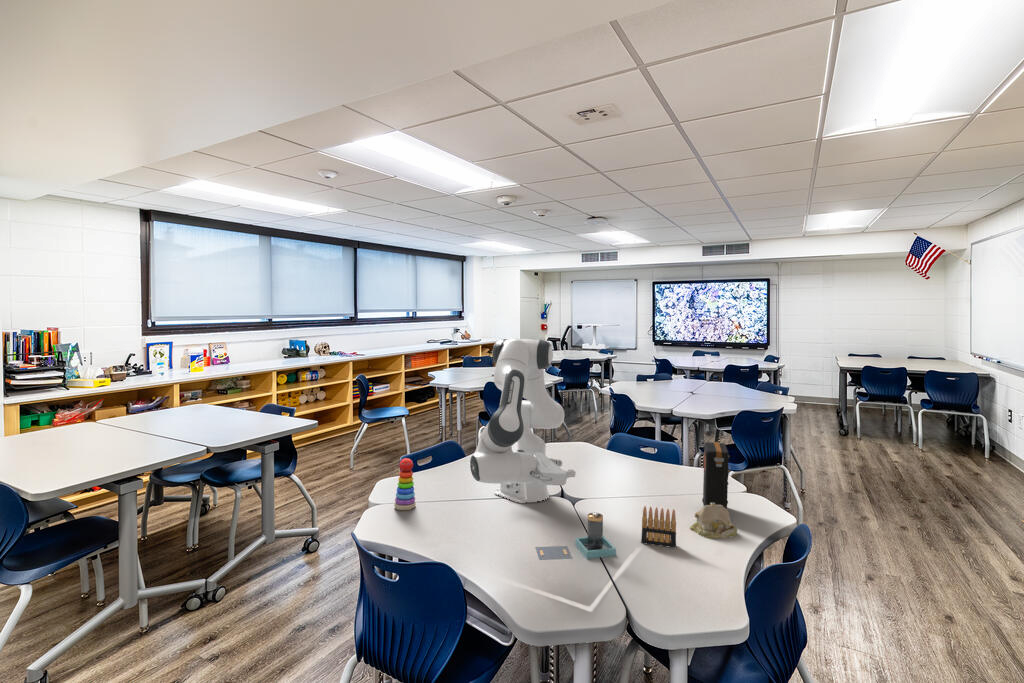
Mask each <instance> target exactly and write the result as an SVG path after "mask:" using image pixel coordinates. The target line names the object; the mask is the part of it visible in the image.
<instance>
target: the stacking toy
mask: <svg viewBox="0 0 1024 683" xmlns="http://www.w3.org/2000/svg"><path fill="white" fill-rule="evenodd" d="M413 467H414V462H413V460H412V459H410V458H407V457H405V458H402V459H401V461H400V462H399V469H400V471H399V473H398V476H399V477H398V480H397V481H398V482H397V488H396V493H395V498H394V502H395V503H394V505H393V506H394V508H395V509H396V510H398V511H410V510H413V509H414V508H415V507H416V505H417V504H416V497H415V495H416V493H415V491H414V490H415V487H414V486H415V482H414V481H413V480H414V476H413V475H414V473H413V471H412V469H413ZM412 508H413V509H412Z"/></svg>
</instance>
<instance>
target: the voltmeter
mask: <svg viewBox="0 0 1024 683" xmlns="http://www.w3.org/2000/svg"><path fill="white" fill-rule="evenodd" d="M703 450H704V451H703V452H704V454H703V486H702V487H703V489H702V493H703V494H702V500H701V502H702V504H703V506H705V505H710V503H713V502H714V503H715V505H722V506H723V507H724V508H726V509H727V510H728V504H729V500H728V488H729V484H730V483H729V459H730V454H729V450H728V448H727V445H726V443H724V442H722V443H720V441H719V442H718V441H713V442H708V441H707V442H705V443H704V445H703Z"/></svg>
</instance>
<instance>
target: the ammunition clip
mask: <svg viewBox="0 0 1024 683" xmlns="http://www.w3.org/2000/svg"><path fill="white" fill-rule="evenodd" d="M647 511H648V512H647ZM670 516H671V518H670ZM676 516H677V515H676V511H675V509H674V508H673V509H672V511H671V513H670V510H669V508H666V512H665V510H664V508H663V507H661V508H660V512H659V509H658V507H657V506H656V507H655V509H654V513H653V507H652V506H650V507H649V510H647V507H646V505H644V507H643V509H642V518H641V540H640V541H641V542H640V543H641V544H644V543H647V544H646V545H651V544H654V545H653V546H659V545H662V546H661V547H666V546H669V547H668V548H673V547H676V548H677V519H676Z"/></svg>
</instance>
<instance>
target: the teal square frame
mask: <svg viewBox="0 0 1024 683" xmlns="http://www.w3.org/2000/svg"><path fill="white" fill-rule="evenodd" d="M574 543H575V544H574V545H575V547H577V550H579V551H580V553H582V555H583V556H584V557H585V558H586V560H587V559H596V558H597V559H598V558H604V557H613V556H614V557H615V556H616V555H617V548H616V547H615V546H614V545H613V544H612V543H611V542H610V541H609V540H608V539H607V538H606V537H605V535H603V547H604V548H603V549H599V550H590V551H588V550H587V548H586V547H585V545H587V543H588V536H582V537H575V539H574Z"/></svg>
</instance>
